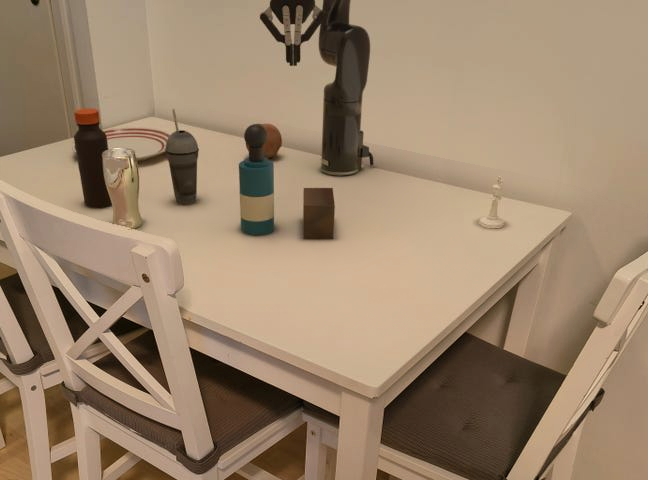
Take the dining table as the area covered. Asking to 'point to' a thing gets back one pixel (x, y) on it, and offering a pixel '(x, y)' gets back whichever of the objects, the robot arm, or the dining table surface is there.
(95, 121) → the vinegar
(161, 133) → the dinner plate
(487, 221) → the chess piece
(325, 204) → the walnut block
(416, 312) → the dining table surface
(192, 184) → the beverage cup
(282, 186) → the dining table surface
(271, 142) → the onion
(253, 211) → the striped banded cylinder
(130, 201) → the beer glass
